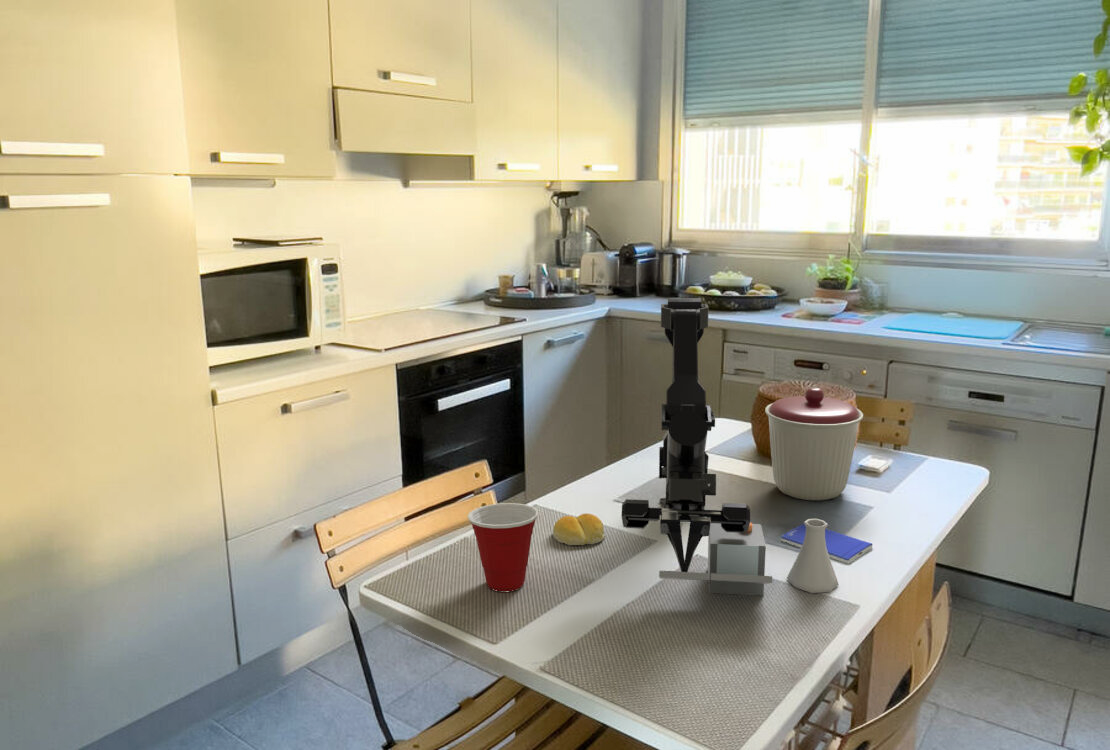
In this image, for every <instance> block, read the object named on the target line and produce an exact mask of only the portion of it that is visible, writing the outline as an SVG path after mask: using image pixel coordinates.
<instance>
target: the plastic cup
mask: <svg viewBox="0 0 1110 750" xmlns="http://www.w3.org/2000/svg"><path fill="white" fill-rule="evenodd" d="M538 516H539V510H538V509H537V508H535V507H534V506H532V505H528V504H524V503H516V502H515V503H514V502H508V503H507V502H504V503H503V502H502V503H500V502H499V503H494V504H486V505H482V506H481V507H480V506H479V507H476V508H475V509H473V510H471V511H469V513H468V515H467V519H468V521H469V522H470V523H471V526H472V529H473V532H474V535H475V539H476V544H477V548H478V552H479V553H478V554H479V557H480V562H481V565H482V566H481V567H482V568H483V573H484V578H485V582H486V584H487V587H488V586H489V587H488V589H490V588H491V589H494V590H497V591H512V590H516V589H518V588H520V587H521V586H522V585H523V584H524V585H525V581H526V572H527V567H528V565H529V564H528V562H529V556H530V551H531V550H530V549H531V542H532V535H533V531H534V527H535V523H536V521H537V519H538ZM524 585H523V586H524ZM523 586H522V587H523ZM522 587H521V588H522ZM521 588H520V589H521ZM491 589H490V590H491ZM518 590H519V589H518ZM516 591H517V590H516ZM512 592H513V591H512Z"/></svg>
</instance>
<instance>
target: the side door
mask: <svg viewBox="0 0 1110 750" xmlns="http://www.w3.org/2000/svg"><path fill="white" fill-rule="evenodd" d="M659 579H661V580H676V581H677V580H678V581H679V580H681V581H697V582H698V581H699V582H708V581H713V582H732V583H752V584H764V585H770V584H773V576H772V575H764V576H757V575H737V574H717V573H708V572H695V571H694V572H692V571H688V572H681V571H672V570H659Z"/></svg>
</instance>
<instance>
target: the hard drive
mask: <svg viewBox="0 0 1110 750" xmlns="http://www.w3.org/2000/svg"><path fill="white" fill-rule="evenodd" d="M805 534H806V526H805V525H804V522H803V523H802V524H800V525H798V526H796V527H795V528H792V529H790V530H789V531H787V532H786V533H783V534H782V535H781V538H780V542H782V541H783V543H785V542H787V543H786V544H788V543H789V545H792V546H794V545H795V546H794V547H797V548H800V549H801V548H802V545H803V542H804V538H805ZM825 541H826V548H827V551H828V554H829V557H830V559H833V560H836V561H839V562H842V563H845V564H848V565H849V564H851V562H853V561H855V560H856V559H858V558H859V557H861V556H862V555H864V554H866V553H867V552H868V550H869V551H870V550H871V549H873V543H871V542H869V541H864V540H861V539H859V538H855V537H852V536H849V535H846V534H843V533H840V532H836V531H833V530H830V529H828V528H825Z"/></svg>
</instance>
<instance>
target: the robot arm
mask: <svg viewBox="0 0 1110 750" xmlns="http://www.w3.org/2000/svg"><path fill="white" fill-rule="evenodd" d="M660 327H661V328H664V334H665V336H666V338H667V340H668V341H669V343H670V345H671V347H672V365H671V366H672V368H671V369H672V374H671V377H672V378H671V379H672V380H671V383H670V385H669V386H668V388H667V389H666V399H665V402H666V403H661V431H666V432H665V433H664V434H663V438H662V439H663V441H662V443H663V445H662V446H659V449H658V450H659V452H658V455H659V461H658V465H659V466H658V471H659V473H658V479H665V497H663V498H659V502H660V503H661V504H662V506H663V507H650V503H649V499H629V498H627V499H625V500H624V501H623V502H622V504H621V521H622V527H623V528H626V529H643V530H644V529H645V528H646V527H647V526H648V525H649V524H650V521H651V522H653V521H655V522H659V530H660V531H659V533H660V535H664V536H667V538H668V540H669V542H670V544H671V547H672V549H673V551H674V553H675V557H676V560H677V563H678V567H679V569H680V572H689V569H690V567H691V563H692V560H693V557H694V555H695V552H696V549H697V547H698V546H699V544H700V542H701V540H702V538H703V537H709V533H710V524H711V523H721V527H722V528H723V529H724V530H725V531H726V532H735V533H745V532H748V528H749V524H750V523H751V508H750V507H749V505H748V504H747V503H734V502H732V503H731V502H730V503H729V502H728V503H727V502H723V503H722V505H721V510H720V509H719V510H715V509H714V510H713V509H705V507H706V496H711V497H712V496H713V497H715V496H716V495H717V474H716V473H708V471H709V469H708V467H709V459H710V458H709V454H708V453H707V451H706V447H707V439H708V438H707V437H708V432H711V431H712V428H715V427H716V417H715V412H714V410H712V407H711V404H707V395H706V394H707V393H706V392H707V391H706V389H705V388H704V387H703V386H702V385H701V383H700V381H699V370H698V369H699V364H698V363H699V362H698V360H699V358H698V354H699V351H698V350H699V349H698V347H699V346H698V344H699V341H700V340H701V339H702V337H703V335H704V332H705V329H706V328H708V327H709V305H708V304H707V303H705V304H704V303H702V298H700V297H667V303H664V304H663V303H662V304H660ZM681 523H689V528H688V536H687V542H686V543H687V544H686V550H685V554H684V547H683V537H682V527H681V526H682V525H681Z"/></svg>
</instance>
